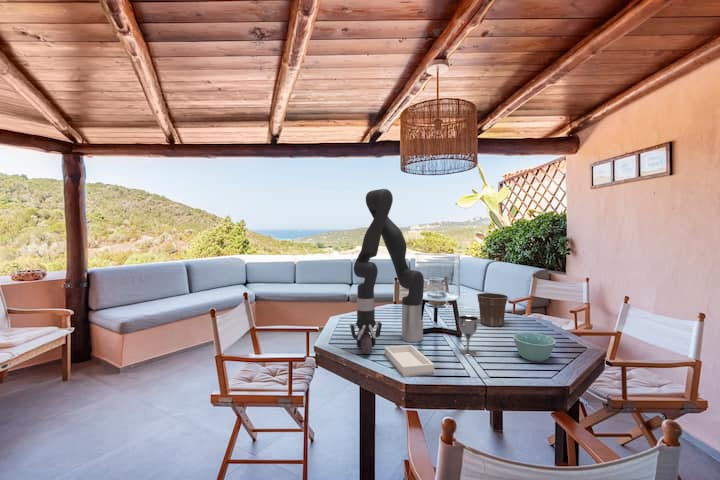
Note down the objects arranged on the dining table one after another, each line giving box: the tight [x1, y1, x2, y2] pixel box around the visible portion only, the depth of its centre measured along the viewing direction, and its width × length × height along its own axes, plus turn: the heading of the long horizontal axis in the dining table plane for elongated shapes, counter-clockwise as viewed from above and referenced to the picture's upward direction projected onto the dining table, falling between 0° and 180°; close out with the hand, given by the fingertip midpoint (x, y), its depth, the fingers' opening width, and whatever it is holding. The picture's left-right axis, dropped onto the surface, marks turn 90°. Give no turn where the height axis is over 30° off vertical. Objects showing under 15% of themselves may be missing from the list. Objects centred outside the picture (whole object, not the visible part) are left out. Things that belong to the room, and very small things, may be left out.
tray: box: [384, 344, 435, 378], centre depth 137 cm, size 12×22×4 cm, turn 14°
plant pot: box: [476, 292, 509, 328], centre depth 195 cm, size 16×16×16 cm
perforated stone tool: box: [360, 332, 373, 355], centre depth 150 cm, size 15×5×7 cm, turn 4°
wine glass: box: [458, 315, 479, 356], centre depth 150 cm, size 8×8×15 cm
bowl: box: [512, 332, 557, 363], centre depth 144 cm, size 16×16×8 cm
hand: (366, 347), depth 150 cm, fingers closed on perforated stone tool, 5 cm apart
